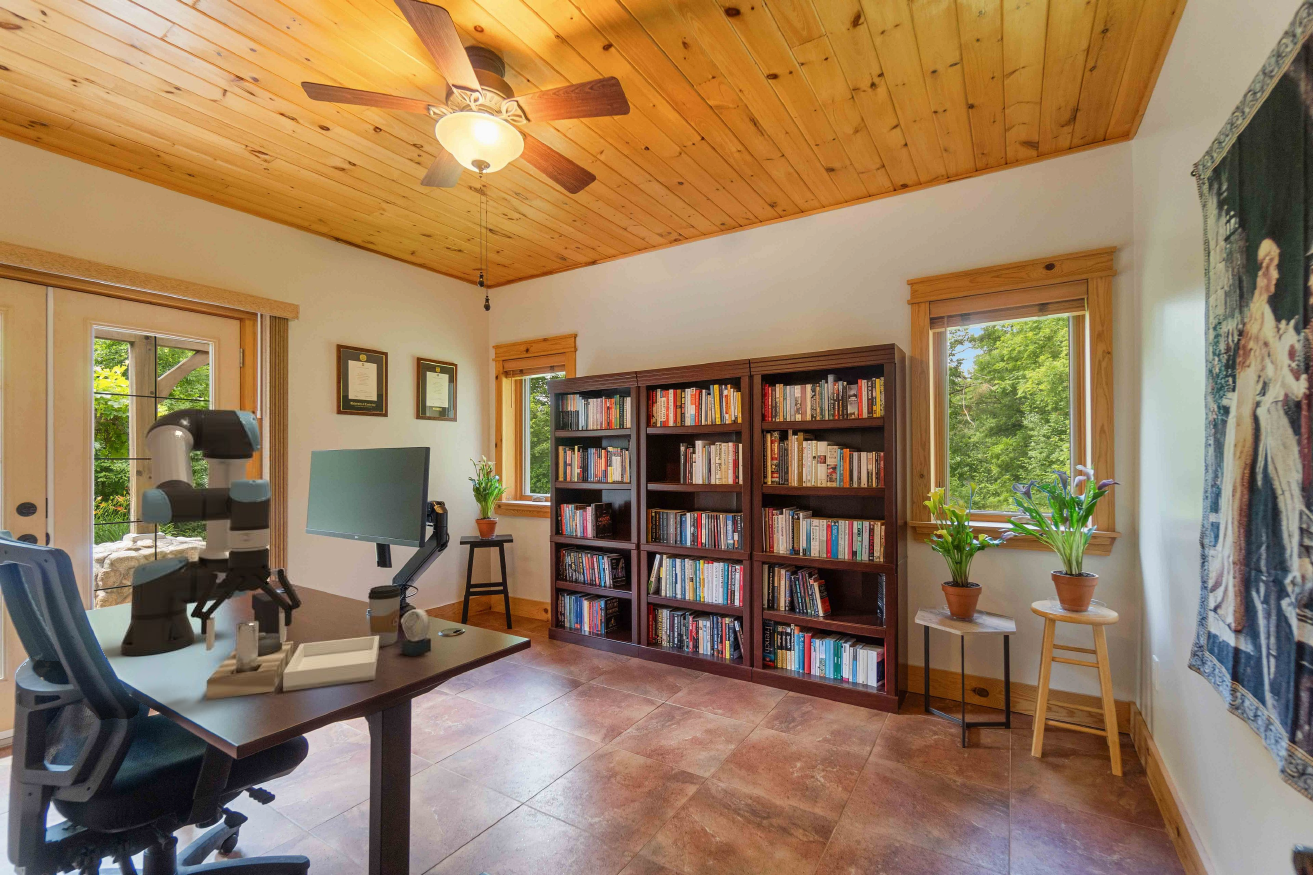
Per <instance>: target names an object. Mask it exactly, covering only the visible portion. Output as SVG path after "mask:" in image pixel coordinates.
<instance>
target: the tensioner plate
mask: <svg viewBox="0 0 1313 875" xmlns="http://www.w3.org/2000/svg"><path fill="white" fill-rule="evenodd" d="M293 656H294V641H287V642H286V641H285V642H283V643H280V634H274V633H271V634H266V633H258V669H257V671H253V672H245V673H237V674H236V648H235V649H234V650H233V651H232V652H231V653H230V655H229V656H228V657H227V658H226V659H225V660H223V662H222V663H221V665H219V666H218V667H217V669H216V670H215V671H214V672H213V673H212V674H211V675H210V676H209V678H207V680H206V695H205V696H206V698H205V700H206V701H207V700H216V699H217V700H218V699H223V698H225V699H226V698H230V697H238V696H239V697H240V696H246V695H248V696H249V695H255V694H262V693H268V692H269V693H270V692H274V690H276V689H275V688H276V687H277V685H278V684H279V683H280V681H281V679H282V677H283V673H284V671H285V669H286V668H287V666H288V664H289V662H290V661H291V659H292V657H293Z"/></svg>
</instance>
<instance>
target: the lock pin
mask: <svg viewBox="0 0 1313 875" xmlns="http://www.w3.org/2000/svg"><path fill="white" fill-rule="evenodd" d="M258 625H259V622H258V621H254V620H249V621H248V620H247V621H242V622H239V623H237V624H236V640H235V643H236V644H235V649H236V674H237V673H245V672H253V671H257V669H258Z"/></svg>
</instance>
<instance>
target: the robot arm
mask: <svg viewBox="0 0 1313 875" xmlns="http://www.w3.org/2000/svg"><path fill="white" fill-rule="evenodd" d="M145 447H146V449H147V451H149V453H150V456H151V459H150V460H151V463H150V464H151V489H147V490H144V491H143V492H142V494H141V505H140V506H141V507H140V508H141V509H140V510H141V511H140V512H141V514H140V515H141V516H140V517H141V518H140V520H141V521H142V523H144V524H146V525H147V524H149V525H152V524H154V525H155V524H159V525H160V524H162V525H168V524H176V523H177V524H179V523H180V524H181V523H194V522H206V527H205V528H206V533H205V534H206V536H205V547H204V549H203V550H201V551H200V552H199V553H198V560H190V559H189V557H188V556H186V555H185V556H184V555H181V556H173V557H172V556H171V557H166V558H161V559H156V560H152V561H147V562H144V563H141V564H139V565H137V566H136V567H135V568H134V570H133V572H132V580H131V583H130V586H131V604H130V605H131V606H130V607H131V610H130V623H129V625H128V628H127V629H126V632H125V635H124V637H123V640H122V642H121V644H120V654H122V655H123V656H124V655H125V656H148V655H149V656H150V655H156V654H162V653H167V652H172V651H175V650H180V649H183V648H185V647H188V646H191V645H192V644H194V642H195V632H194V629H193V627H192V624H191V622H190V619H189V616H188V605H191V604H196V605H195V606H194V608H193V610H191V611H192V612H191V613H190V617H191V618H192V619H193V618H196V619H199V620H200V624H201V625H200V634H201V635H202V636H203V635H206V638H205V639H206V640H205V641H206V642H205V643H206V644H205V649H206V651H211V650H213V648H215V632H216V631H215V630H216V629H215V627H216V625H215V623H216V616H212V615H213V613H215V612H216V611H217V610H218V608H219V607H220V606H221V605H222V604H223V603H224V602H225V601H226V600H231V599H236V598H241V597H244V596H246V595H247V594H248V593H249V592H250V591H251V592H255V591H257V590H259V589H260V590H261V591H262V593H264V592H265V593H266V594H267V595H268V596H269V597H270V598H271V599H272V600H273V601H274V602H276V603H277V604H278V605H279V606H280V609H282V611H280V614H279V615H280V643H284V642H286V640H287V627H290V626H291V625H292V623H293V611H294V610H296V609H299V608H300V607H301V606H302V604H303V602H302V601H301V599H300V598H299V596H298V594H297V593H296V591H295V589H294V587H293V585H292V584H291V582H290V580H289V578H288V577H287V571H286V568H285V567H284V566H282V567H280V568H275V569H271V568H270V549H269V548H268V546H269V545H271V544H270V538H271V537H270V536H271V535H270V534H271V530H270V529H271V528H270V527H271V525H270V524H271V523H270V521H271V516H270V514H271V497H272V492H271V482H270V481H269V480H268V479H257V478H255V479H251V478H250V479H248V478H246V477H247V464H248V463H249V462H250V461H251V460H253V459H254V453H257V452H259V451H260V449H261V437H260V428H259V423H258V420H257V417H256V416H255V414H254V413H253V412H251V411H245V410H239V409H237V410H236V409H210V408H209V409H207V408H206V409H204V408H189V407H188V408H180V409H178V410H174V411H171V412H168V413H167V414H164V415H162V416H161V417H159V418H158V419H156V420H155V421H154V422H153V423H152V424H151V425H150V426H149V428H148V430H147V431H146V434H145ZM191 452H202V459H203V460H204V461H205V462H207V463H208V476H207V478H208V479H207V480H208V481H207V487H206V488H205V487H199V488H197V487H196V488H195V483H194V475H193V465H192V457H191ZM271 576H273V577H274V579H277V580H278V583H279V585H280V586H281V587H282V588H281V589H282V590H283V591H284V593H285V594H286V597H287V598H288V599H289V601H290V602H291V603H290V602H289V601H288V600H287V599H286V598H285V597H284V596H283V595H281V593H280V592H279V591H277V589H276V588H274V587H273V586H272V584H271V583H270V582H269V581H268V579H269V578H270V577H271ZM208 602H213V603H212V604H211V605H210V606H209V607H208V608H207V609H206V610H205V611H203V610H204V609H205V606H206V605H207V604H208Z"/></svg>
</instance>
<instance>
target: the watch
mask: <svg viewBox="0 0 1313 875" xmlns="http://www.w3.org/2000/svg"><path fill="white" fill-rule="evenodd" d="M427 613H428V612H426V610H424V609H423V608H418V609H411V610H409V611H408V612H406V613H405V614H404V615H403V616H402V617H401V620H400V623H401V625H402V630H403V631H404V634H405V636H406V638H407V640H404V641H401V654H402V655H404V654H405V655H404V656H408V655H409V657H412V658H413V657H415V656H419V655H422V654H425V653H424V652H426V653H428V651H429V652H431V650H432V638H428V634H429V632H430V628H431V626H430V618H429V615H428V614H427ZM420 619H421V624H422V626H421V627H420V631H419V633H418V636H417V635H416V633H415V632H414V629H413V628H414V627H415V626H416V624H417V622H418V621H419V620H420ZM421 653H422V654H421ZM418 654H419V655H418Z"/></svg>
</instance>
